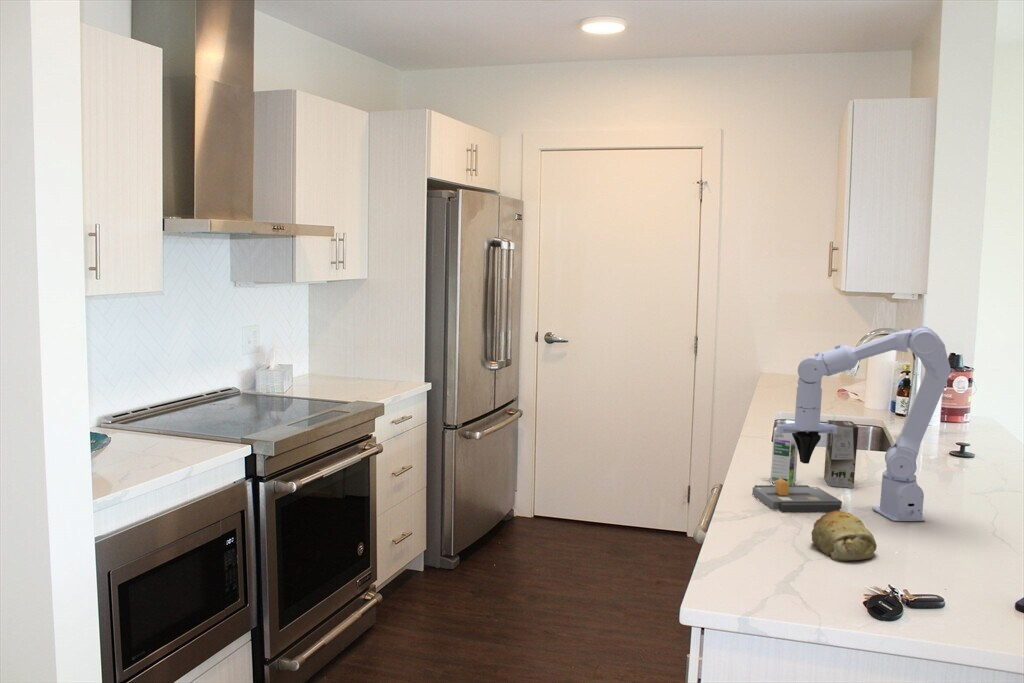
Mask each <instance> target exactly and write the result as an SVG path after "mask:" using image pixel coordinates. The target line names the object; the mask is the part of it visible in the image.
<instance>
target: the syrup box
mask: <svg viewBox="0 0 1024 683" xmlns="http://www.w3.org/2000/svg"><path fill="white" fill-rule="evenodd" d="M771 455H772V456H771V468H770V469H771V471H770V478H769V479H770V483H771V482H774V483H773V484H775V483H776V480H779V478H781V479H783V480H785V481H786V482H788V483H789V485H794V484H795V482H796V481H797V466H798V455H799V452H798V448H797V445H796V442H795V440H794V438H793V436H792V433H783V434H779V433H777V432H776V427H774V429H773V437H772V454H771ZM793 483H794V484H793Z"/></svg>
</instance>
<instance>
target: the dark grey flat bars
mask: <svg viewBox="0 0 1024 683" xmlns="http://www.w3.org/2000/svg"><path fill="white" fill-rule="evenodd" d="M754 487H775V485H774V484H773V485H768V484H767V485H766V484H765V485H761V484H760V485H757V484H756V485H754ZM789 487H810V486H809V485H807V484H805V485H804V484H803V485H801V484H800V485H798V484H796V485H795V484H793V485H789ZM836 510H837V511H841V510H840V504H838V503H780V508H779V510H778V511H780V512H781V511H782V512H781V513H783V512H799V513H829V512H832V511H836Z"/></svg>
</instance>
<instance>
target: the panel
mask: <svg viewBox="0 0 1024 683" xmlns="http://www.w3.org/2000/svg"><path fill="white" fill-rule="evenodd" d="M751 495H752V496H753V495H754V496H755V497H756V498H755V497H754V496H753V497H754V498H755V499H757V498H758V499H759V500H758V499H757V500H758V501H760V502H761V501H762V502H763V503H762V502H761V503H762V504H764V505H765V504H766V505H765V506H766V507H768V506H769V507H770V508H769V507H768V508H769V509H771V510H772V509H773V510H772V511H780V510H779V508H780V503H838V504H840V509H841V510H842V504H843V503H842V502H843V501H842V500H840V499H839V498H837V497H835V496H833V495H832V494H830V493H828V492H827V491H825V490H823V489H821V488H820V487H818V486H816V487H815V486H809V487H789V491H788V495H779V494H777V493H776V492H775V487H755V486H753V487H752V494H751Z"/></svg>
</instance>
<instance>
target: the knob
mask: <svg viewBox="0 0 1024 683" xmlns="http://www.w3.org/2000/svg"><path fill="white" fill-rule="evenodd" d="M774 484H775V492H776V493H777V494H779V495H788V491H789V483H788V482H786V481H785V480H783V479H781V478H779V480H776V483H774Z"/></svg>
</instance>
